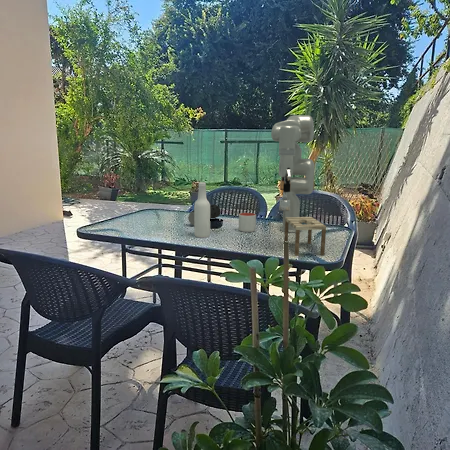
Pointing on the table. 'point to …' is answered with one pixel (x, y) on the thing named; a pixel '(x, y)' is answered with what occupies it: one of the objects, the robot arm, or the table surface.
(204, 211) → the alcohol
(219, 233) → the table surface
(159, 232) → the table surface
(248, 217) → the cup
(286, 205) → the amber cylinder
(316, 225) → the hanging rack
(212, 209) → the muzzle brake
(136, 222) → the table surface
